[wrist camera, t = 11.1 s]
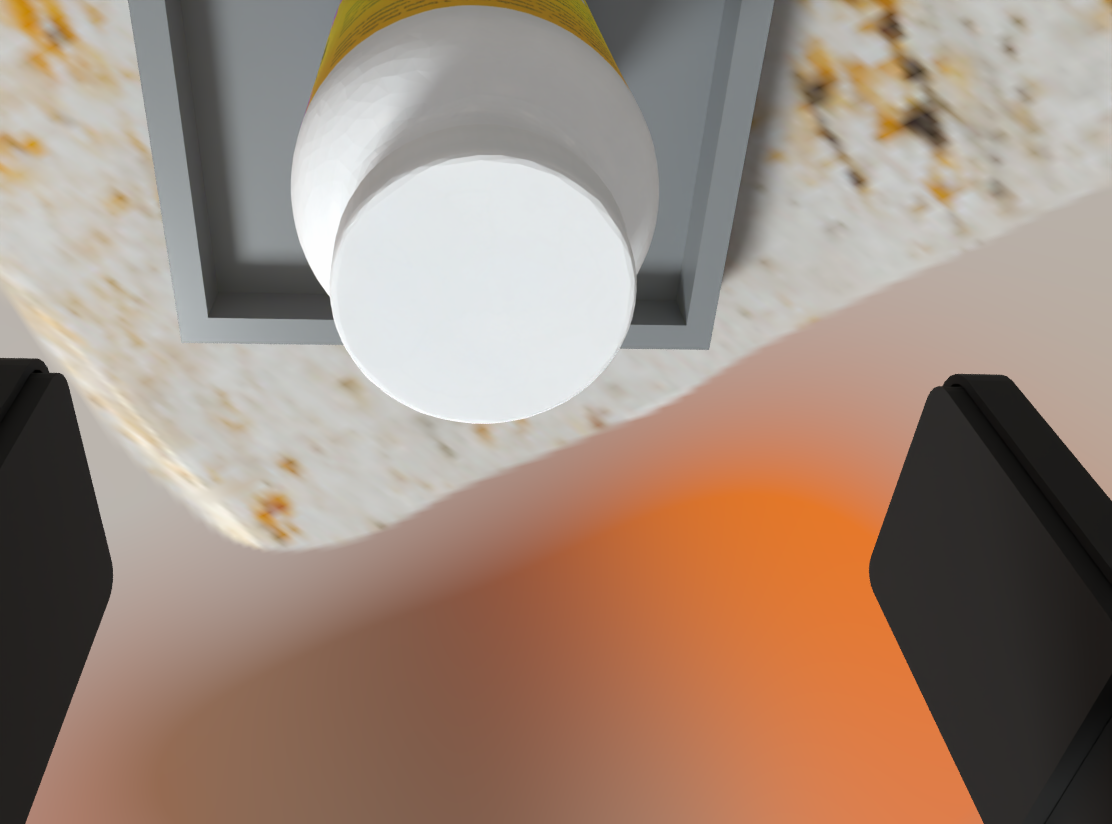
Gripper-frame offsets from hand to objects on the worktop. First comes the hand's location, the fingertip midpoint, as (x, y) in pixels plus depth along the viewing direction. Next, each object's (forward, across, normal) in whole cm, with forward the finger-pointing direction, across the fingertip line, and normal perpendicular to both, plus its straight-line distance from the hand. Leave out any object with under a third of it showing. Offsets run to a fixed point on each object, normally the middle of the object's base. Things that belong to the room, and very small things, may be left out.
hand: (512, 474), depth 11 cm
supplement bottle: (+18, 0, 0) cm, 18 cm away
